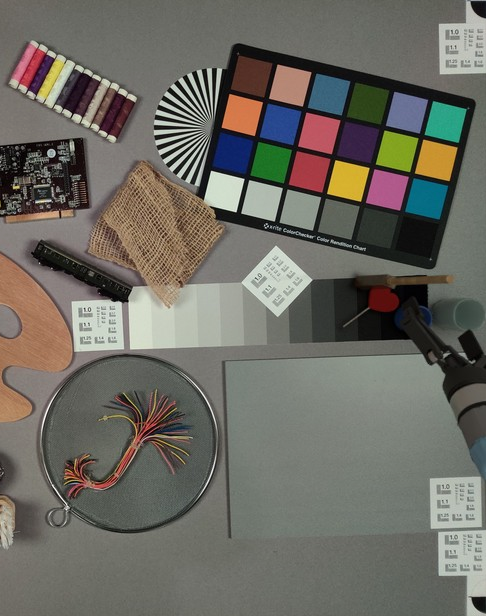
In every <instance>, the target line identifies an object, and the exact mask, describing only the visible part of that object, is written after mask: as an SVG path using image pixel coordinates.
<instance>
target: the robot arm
mask: <svg viewBox="0 0 486 616" xmlns="http://www.w3.org/2000/svg"><path fill="white" fill-rule="evenodd" d="M419 304H420V303H419V302H418V300H417V298H416V297H415V296H413V295H411V296H410V297H409V298H408V299H407V300H405V301H404V302H403V303H402V304H401V305H400V307H402V309H403V311H404V314H405V318H404V319H403V320H401V321H400V322H399V324H400V325H401V327H402V328H403V329H404V330H405V331H404V332H405V333H406V335H407V336H408V337H409V339H410V340H411V341H412V343H413V344H414V345H415V346H416V348H417V349H418V350H419V352H420V353H421V354H422V356H423V358H424V360H425V362H426V363H427V364H428V365H429V366H431V367H433V366H434V365H435V364H437V365H438V367H439V368H440V370H441V372H442V373H443V374H444V377H443V381H442V384H441V385H442V391H443V393H444V395H445V399H446V400H447V402H448V404H449V405H450V409H451V411H452V414H453V415H454V418H455V421H456V426H457V427H459V430H460V431H461V433H462V436H463V439H464V441H465V444H466V447H467V449H468V453H469V456H470V459H471V461H472V463H473V464H474V465H475V467H476V469H477V471H478V473H479V475H480V476H481V478H482V480H484V481H485V482H486V354H485V351H484V350H483V348H482V346H481V345H480V343H479V341H478V339H477V337H476V335H475V334H474V331H472V330H470V329H468V330H467V331H466V332H464V331H463V333H461V334H460V335H459V336H458V337H457V341H458V343H459V344H460V345H459V346H460V347H461V348H462V350H463V353H464V354H465V356H462V355H461V354H460V353H459V352H458V351H457V350H456V349H455V348H454V347H453V346H452V345H450V344H446V343H445V342H444V341H443V340H442V339H441V338H440V337H439V335H437V333H436V332H435V331H434V330H433V329H432V328H431V327H429V326H428V325H427V324H426V323H425V322H424V321H423V320H424V319H425V318H424V315H423V313H422V311H421V309H420V307H419V306H420V305H419ZM448 352H449V354H446V353H448ZM445 354H446V356H444V355H445Z"/></svg>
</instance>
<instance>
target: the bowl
mask: <svg viewBox="0 0 486 616" xmlns="http://www.w3.org/2000/svg"><path fill="white" fill-rule="evenodd" d="M419 307H420V309H421V311H422V313H423V315H424V318H425V319H424V320H423V321H424V322H425V323H426V324H427V325H428V326H429V327H430V328H431V326H432V324H433V323H434V321H433V317H432V311H431V310H430V309H429V308H427V307H426V306H424V305H419ZM404 318H405V314H404V311H403V309H402V306H400V307H399V308H398V309H397V310H396V311H395V313H394V320H393V321H394V324H395V326H396V327H397V328H398V329H399V331H400V330H401V331H403V332H405V330H404V329H403V328H402V327H401V325H400V324H399V322H400V321H401V320H403V319H404Z"/></svg>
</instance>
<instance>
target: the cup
mask: <svg viewBox="0 0 486 616" xmlns="http://www.w3.org/2000/svg"><path fill="white" fill-rule="evenodd" d="M431 314H432V317H433V323H434V324H435V325H436V326H438V327H440V328H442V329H445V330H449V331H456V332H463V333H464V332H466V331H467V330H468V329H470V330H472V331H473V332H475V331H478V330H479V329H481V328H483V325H484V324H485V322H486V307H485V305H484V304H483V303H482V302H481V301H480V300H478V299H475V298H470V297H450V298H445V299H442V300H439V301H438V302H437V303H435V304H434V305H433V308H432V311H431Z"/></svg>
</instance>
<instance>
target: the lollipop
mask: <svg viewBox="0 0 486 616" xmlns="http://www.w3.org/2000/svg"><path fill="white" fill-rule="evenodd" d="M391 290H392V289H369V291H368V292H369V294H368V297H367V298H368V299H367V300H368V301H367V306H368V307H366V308H365V309H364V310H363V311H361V312H360V313H358V314H357V315H356V316H354V317H353V318H352V319H350V320H349V321H347V322H346V323H344V325H342V327H343V328H345V327H346V326H348V325H350V323H351V322H353V321H354V320H356V319H358V317H360V316H361V315H362V314H364V313H365V312H367V311H368V310H373V311H376V312H380V313H381V312H382V313H389V312H393V311H395V310H396V309H397V308H398V307H399V304H400V299H399V297H398V295H397V294H396V293H393V292H391Z"/></svg>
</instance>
